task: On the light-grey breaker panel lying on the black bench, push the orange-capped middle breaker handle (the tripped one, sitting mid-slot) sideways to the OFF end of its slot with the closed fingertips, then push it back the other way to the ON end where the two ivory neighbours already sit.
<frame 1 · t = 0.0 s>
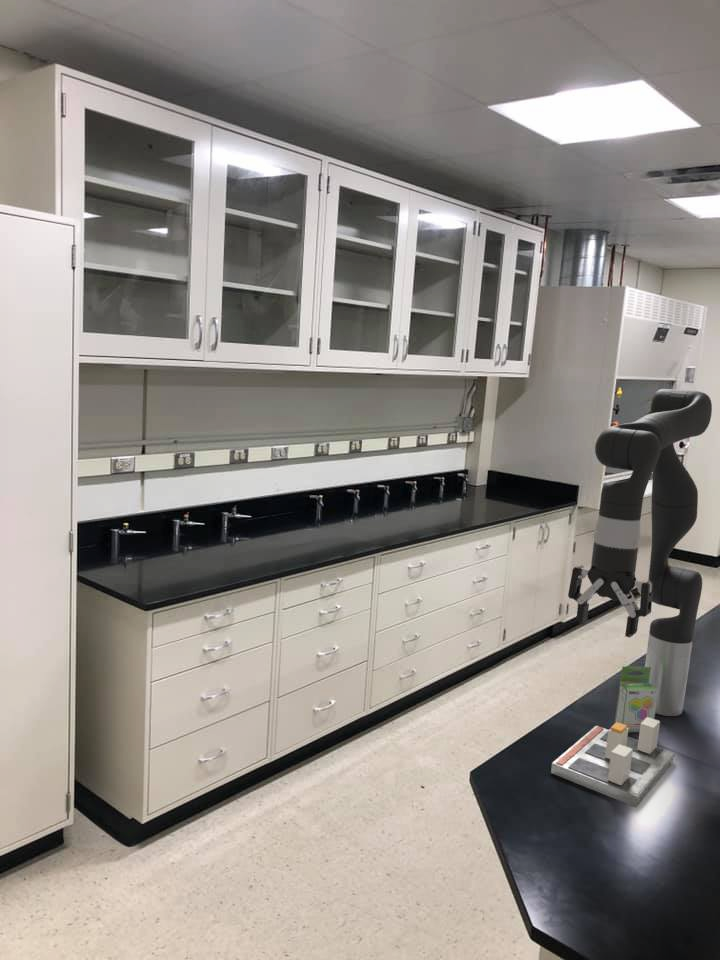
hand: (605, 629, 138), 29 cm above the countertop, fingers open, 8 cm apart
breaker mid: (617, 741, 147), point 5 cm above the countertop, slide at 3.5 cm
panel: (613, 767, 148), on the countertop
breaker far: (648, 735, 151), point 5 cm above the countertop, slide at 7.0 cm
ink box: (633, 729, 165), on the countertop
breaker near: (620, 764, 139), point 5 cm above the countertop, slide at 7.0 cm
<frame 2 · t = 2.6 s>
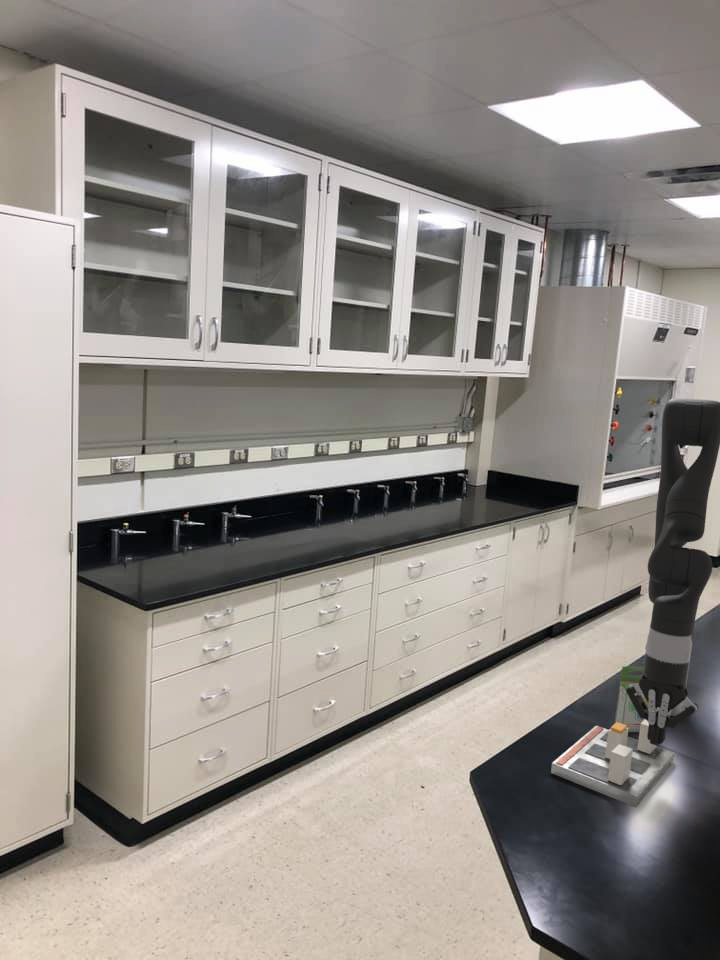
hand: (655, 743, 142), 8 cm above the countertop, fingers closed
nothing on the countertop moved.
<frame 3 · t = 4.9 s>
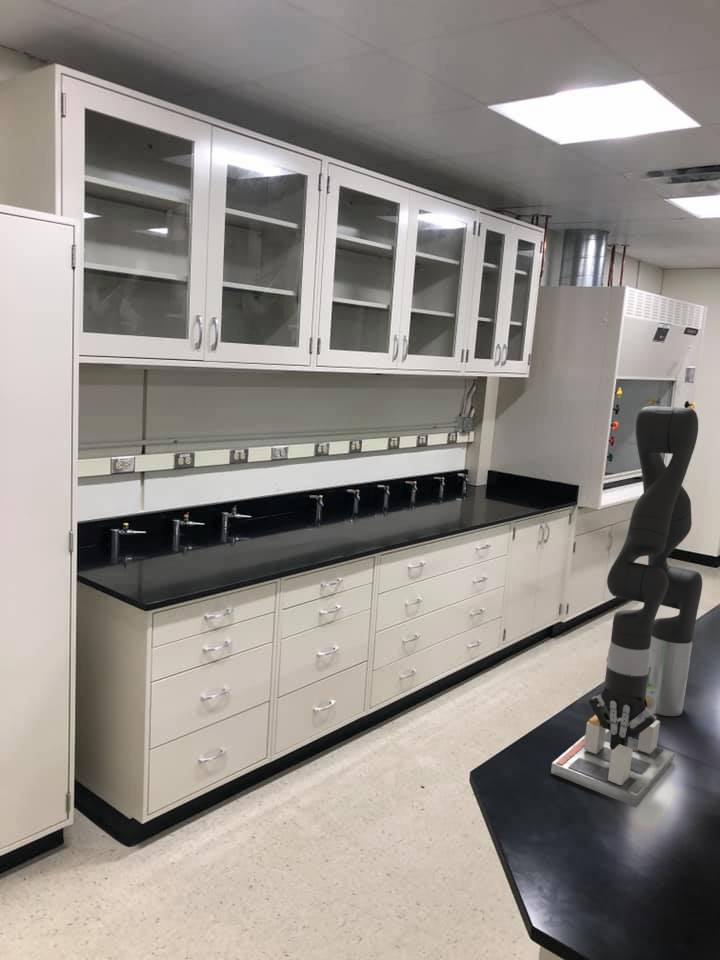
hand: (617, 752, 147), 3 cm above the countertop, fingers closed
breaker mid: (595, 733, 150), point 5 cm above the countertop, slide at -0.8 cm, touching hand
everything else where it was.
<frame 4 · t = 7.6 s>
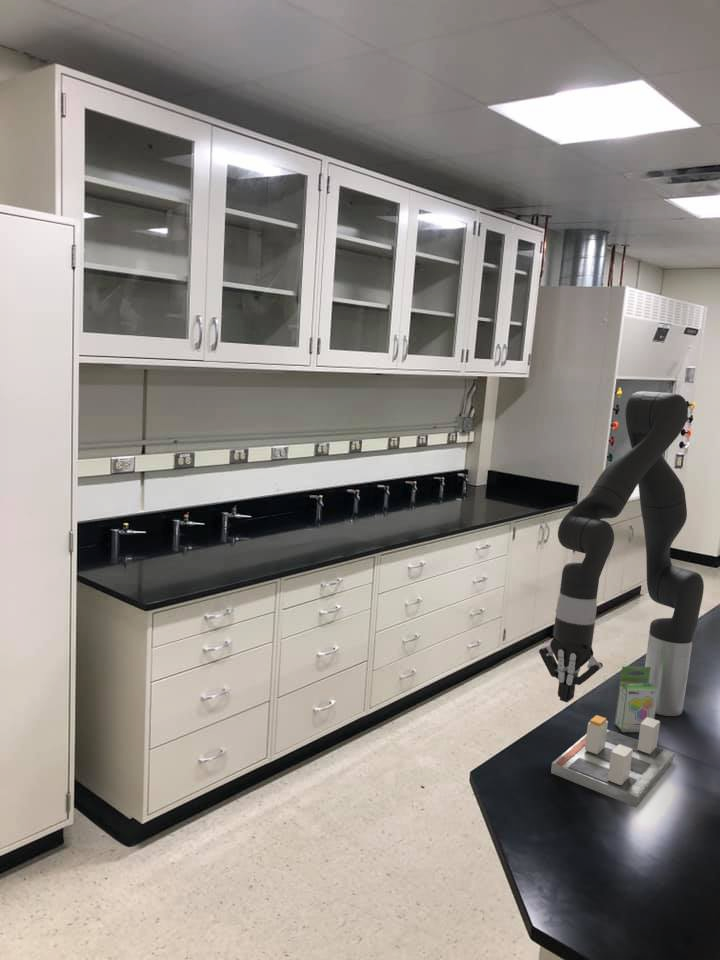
hand: (564, 700, 153), 10 cm above the countertop, fingers closed
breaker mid: (596, 733, 150), point 5 cm above the countertop, slide at -0.6 cm
everything else where it was.
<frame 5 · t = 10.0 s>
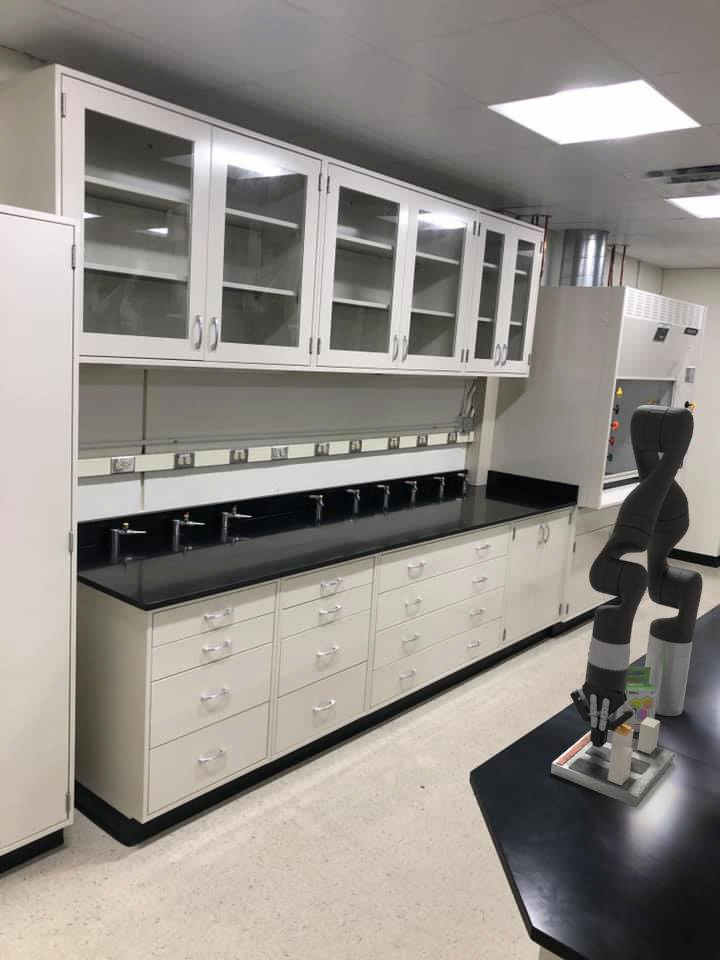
hand: (597, 745, 150), 3 cm above the countertop, fingers closed
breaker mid: (622, 743, 147), point 5 cm above the countertop, slide at 4.5 cm, touching hand
everything else where it was.
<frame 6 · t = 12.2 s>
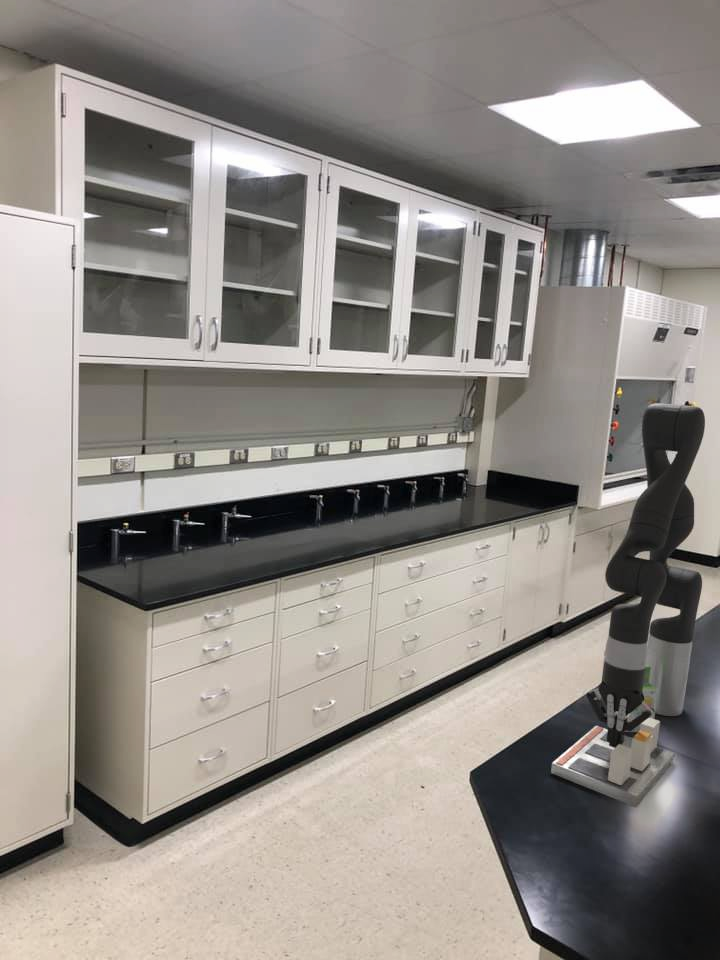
hand: (614, 745, 148), 4 cm above the countertop, fingers closed
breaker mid: (640, 749, 144), point 5 cm above the countertop, slide at 8.1 cm
everything else where it was.
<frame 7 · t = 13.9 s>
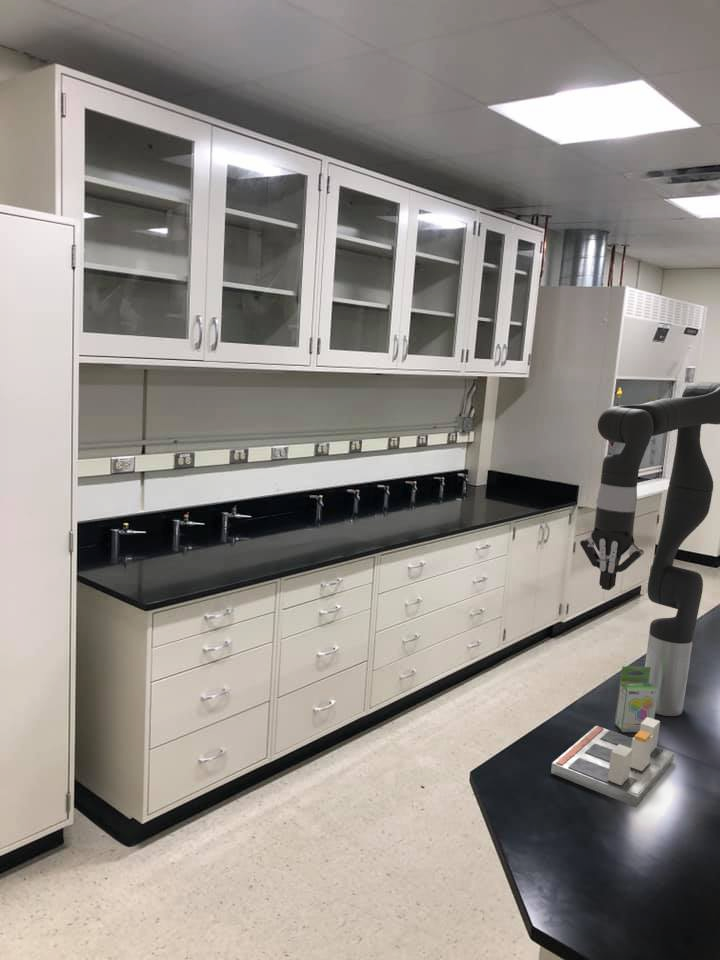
hand: (606, 588, 158), 31 cm above the countertop, fingers closed
nothing on the countertop moved.
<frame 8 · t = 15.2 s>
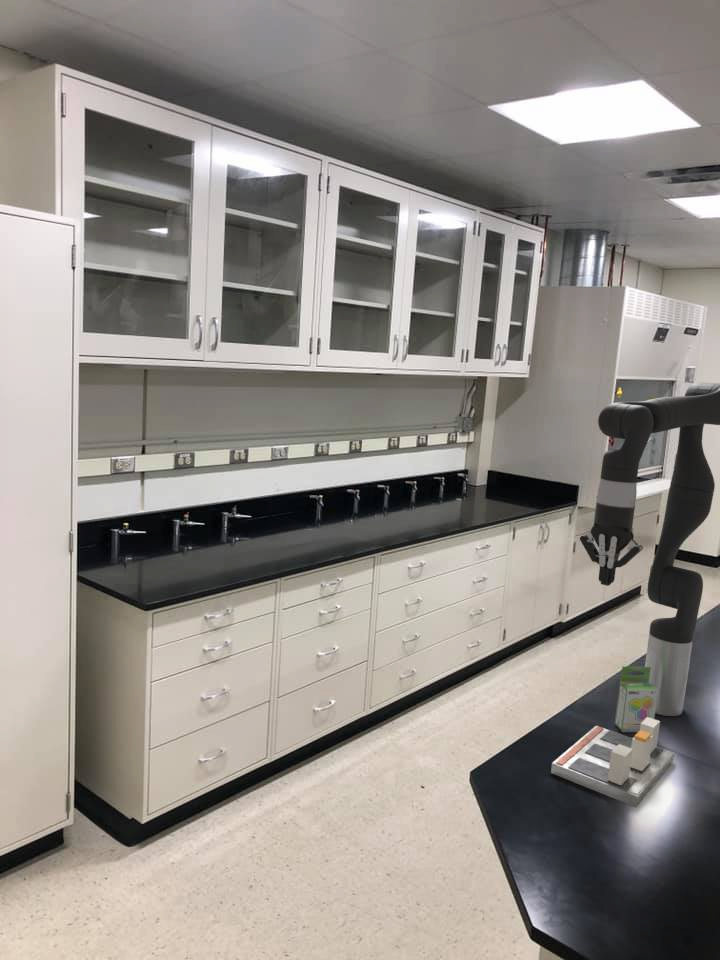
hand: (605, 584, 159), 32 cm above the countertop, fingers closed
nothing on the countertop moved.
at the end: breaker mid slide at 8.1 cm; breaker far slide at 7.0 cm; breaker near slide at 7.0 cm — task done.
